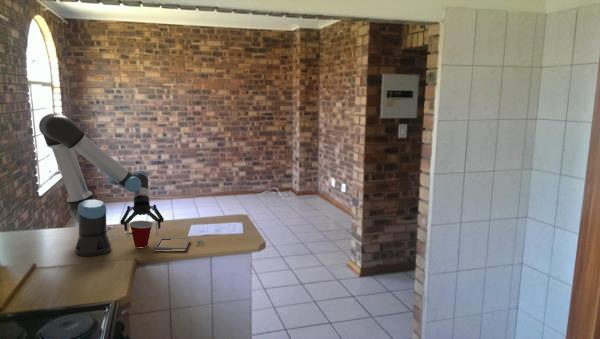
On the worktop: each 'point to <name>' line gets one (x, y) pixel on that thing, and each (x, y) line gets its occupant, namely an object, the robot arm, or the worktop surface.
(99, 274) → the worktop surface
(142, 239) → the plastic cup
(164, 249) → the tray
